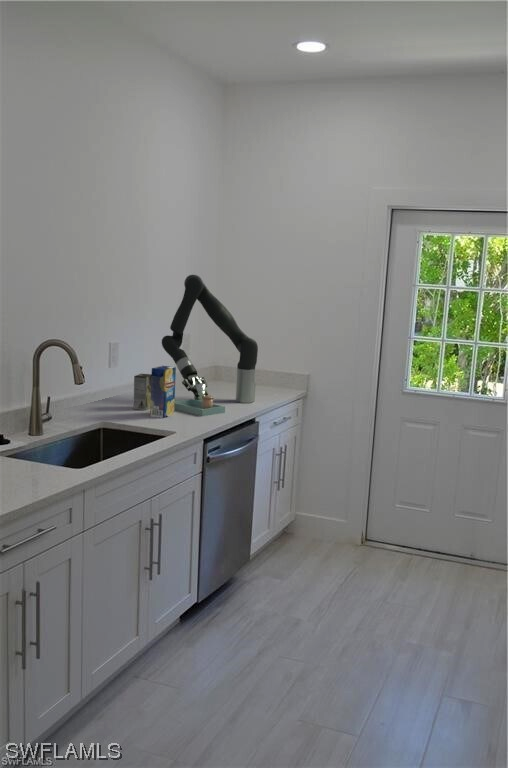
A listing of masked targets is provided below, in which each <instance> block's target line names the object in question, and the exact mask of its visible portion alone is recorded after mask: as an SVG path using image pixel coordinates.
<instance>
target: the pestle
mask: <svg viewBox="0 0 508 768" xmlns="http://www.w3.org/2000/svg"><path fill="white" fill-rule="evenodd" d="M213 404H214V396H213V395H209V394H208V395H204V396H202V409H208V408H213Z"/></svg>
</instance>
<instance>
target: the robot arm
mask: <svg viewBox="0 0 508 768" xmlns="http://www.w3.org/2000/svg"><path fill="white" fill-rule="evenodd" d="M183 285H184V293H183V297H182V299H181V301H180V304H179V306H178V307H177V310H176V312H175V314H174V316H173V319H172V321H171V324H170V328H169V329H170V330H171V331H172V335H168V334H167V335H164V336H163V337H162V339H161V346H162V348H163V349H164V351H165V352H166V353H167V354H168V356H169V357H170V358H172V360H173V362H174V363H175V365H176V369H178V371H179V373H180V375H181V376H182V378H183V380H182V381H181V383H182V385H183V386H184V387H185V389H186V390H187V391H188V392H190V391H191V393H193V395H195V397H196V398H198V397H199V396H200V394H199V393H198V391H197V389H196V387H195V383H205V384H206V389H205V391H206V392H205V395H209V392H208V390H207V387H208V383H207V381H206V379H205V377H204V376H203V377H200V376H199V375H198V371H197V369H196V368H195V366H194V364H193V362H192V361H191V359H190V358H189V356H188V354H187V352H185V350H184V349H182V348H181V346H182V344H183V340H184V339H183V338H184V332H185V328H186V325H187V323H188V321H189V318H190V315H191V312H192V310H193V308H194V306H195V303H196V302H197V301H198V302H199V303H200V304H201V306H202V307H203V309H204V311H205V312H206V314H207V315H208V317H209V318H210V319H211V320H212V322H213V323H214V324H215V325H216V326H217V327H218V328H219V329H220V330H221V332H222V333H224V334H225V335H226V336H227V337H228V338H229V340H231V342H232V344H233V346H235V348H236V350H237V351H238V352H239V360H238V362H237V364H236V365H237V368H236V385H235V386H236V389H235V402H236V403H241V404H250V403H251V404H252V403H254V402H255V398H256V397H255V396H256V382H255V379H256V378H255V377H256V375H255V374H256V366H257V362H258V354H259V353H258V352H259V351H258V350H259V347H258V343H257V341H256V340H255V339H253V338H252V337H251V338H250V337H249V336H247V334H246V333H245V332H243V331H242V329H241V328H240V327H239V326H238V323H237V321H236V320H235V318H234V317H233V315H232V313H231V312H230V311H229V310H228V309H227V308H226V306H225V305H224V304H223V303H222V302H221V301H220V300H219V299H218V298H217V297H216V296H214V294H212V292H211V291H210V290H209V289H208V288H207V285H206V284H205V283H204V281H203V279H202V278H201V277H200V276H199V275H197V274H190V275H188V276H186V278H185V280H184V284H183Z"/></svg>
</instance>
